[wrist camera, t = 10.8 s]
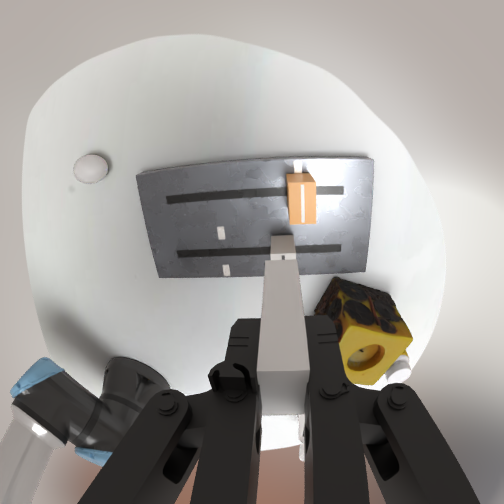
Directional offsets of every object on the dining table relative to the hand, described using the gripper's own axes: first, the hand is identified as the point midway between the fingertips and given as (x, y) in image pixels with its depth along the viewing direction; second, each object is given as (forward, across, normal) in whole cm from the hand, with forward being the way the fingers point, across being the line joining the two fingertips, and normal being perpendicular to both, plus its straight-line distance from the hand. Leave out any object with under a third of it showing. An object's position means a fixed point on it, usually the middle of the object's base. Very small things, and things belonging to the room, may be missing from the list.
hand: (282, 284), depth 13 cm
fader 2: (+17, +2, 0) cm, 17 cm away
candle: (+20, +10, -18) cm, 29 cm away
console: (+19, -3, -3) cm, 20 cm away
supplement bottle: (+20, +18, -25) cm, 37 cm away
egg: (+20, -23, +6) cm, 31 cm away
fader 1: (+17, 0, -7) cm, 18 cm away
